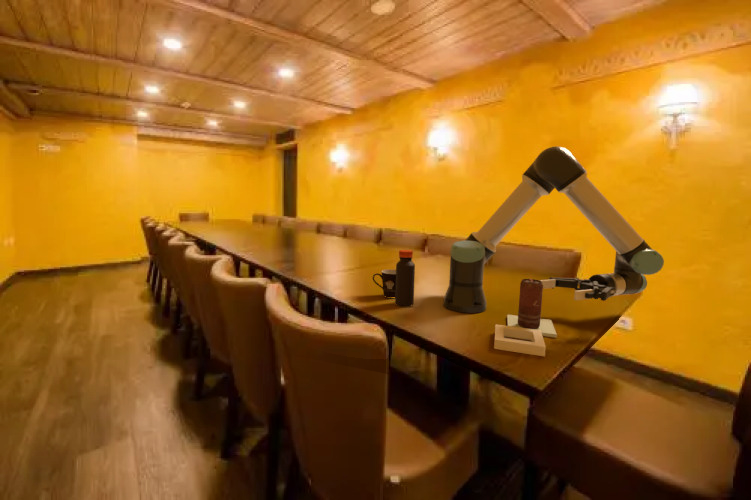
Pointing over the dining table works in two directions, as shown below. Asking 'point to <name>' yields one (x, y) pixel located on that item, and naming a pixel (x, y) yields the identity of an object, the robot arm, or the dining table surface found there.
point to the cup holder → (519, 345)
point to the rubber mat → (545, 328)
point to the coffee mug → (388, 282)
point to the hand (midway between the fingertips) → (556, 289)
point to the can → (530, 303)
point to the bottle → (405, 279)
